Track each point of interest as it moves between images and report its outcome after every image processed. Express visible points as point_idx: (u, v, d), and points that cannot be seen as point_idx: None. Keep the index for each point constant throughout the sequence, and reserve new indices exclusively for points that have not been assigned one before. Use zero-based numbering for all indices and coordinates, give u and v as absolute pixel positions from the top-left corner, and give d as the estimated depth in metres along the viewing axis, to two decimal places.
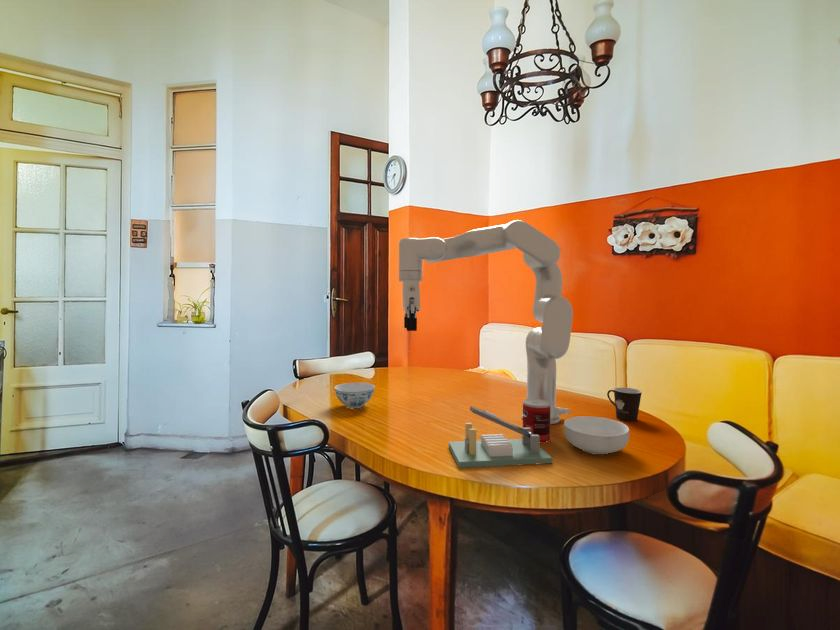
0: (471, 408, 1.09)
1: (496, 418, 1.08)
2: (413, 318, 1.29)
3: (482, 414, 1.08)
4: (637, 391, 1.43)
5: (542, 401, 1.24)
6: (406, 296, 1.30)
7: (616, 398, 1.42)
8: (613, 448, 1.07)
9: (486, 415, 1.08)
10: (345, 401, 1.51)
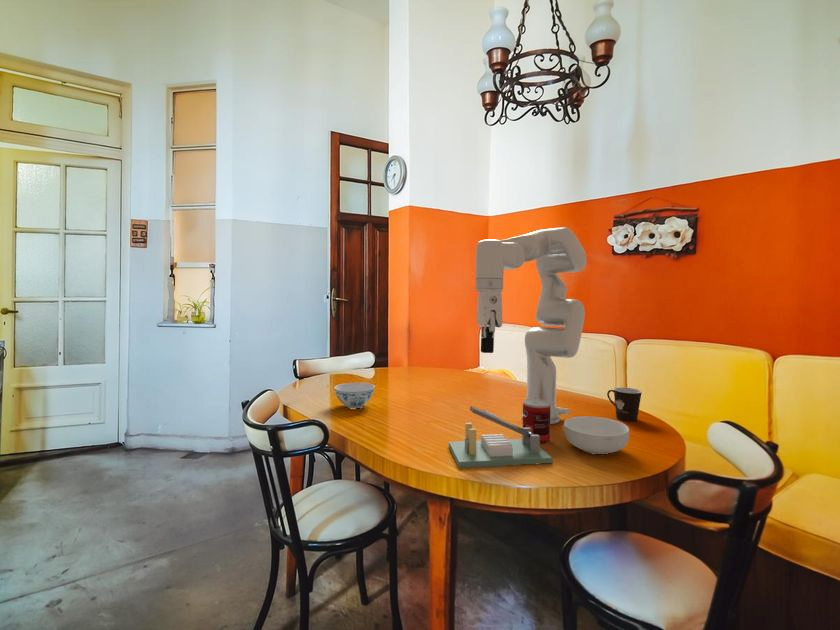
0: (471, 408, 1.09)
1: (496, 418, 1.08)
2: (490, 338, 1.12)
3: (482, 414, 1.08)
4: (637, 391, 1.43)
5: (542, 401, 1.24)
6: (486, 308, 1.09)
7: (616, 398, 1.42)
8: (613, 448, 1.07)
9: (486, 415, 1.08)
10: (345, 401, 1.51)
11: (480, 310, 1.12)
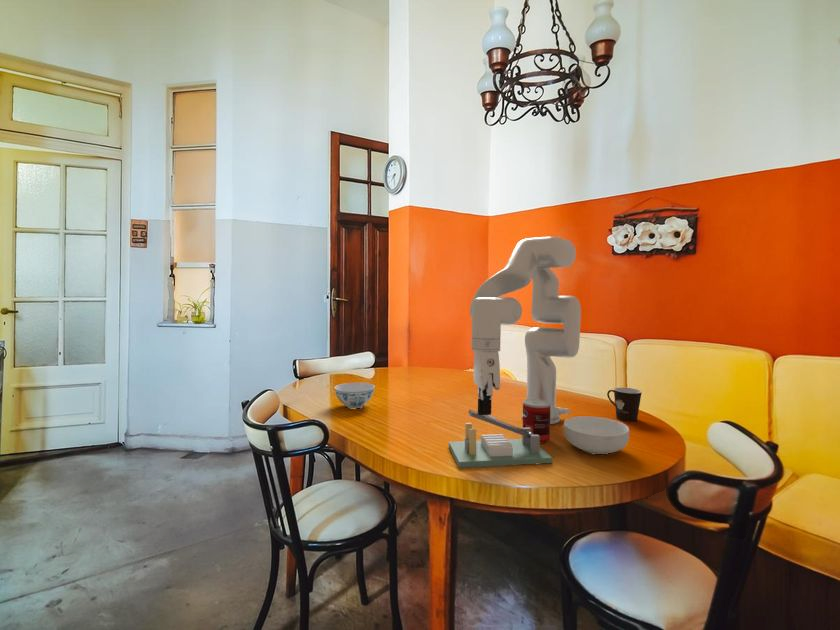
0: (469, 411, 1.09)
1: (495, 420, 1.08)
2: (488, 400, 1.07)
3: (481, 417, 1.08)
4: (637, 391, 1.43)
5: (542, 401, 1.24)
6: (483, 372, 1.04)
7: (616, 398, 1.42)
8: (613, 448, 1.07)
9: (485, 418, 1.08)
10: (345, 401, 1.51)
11: (477, 371, 1.07)
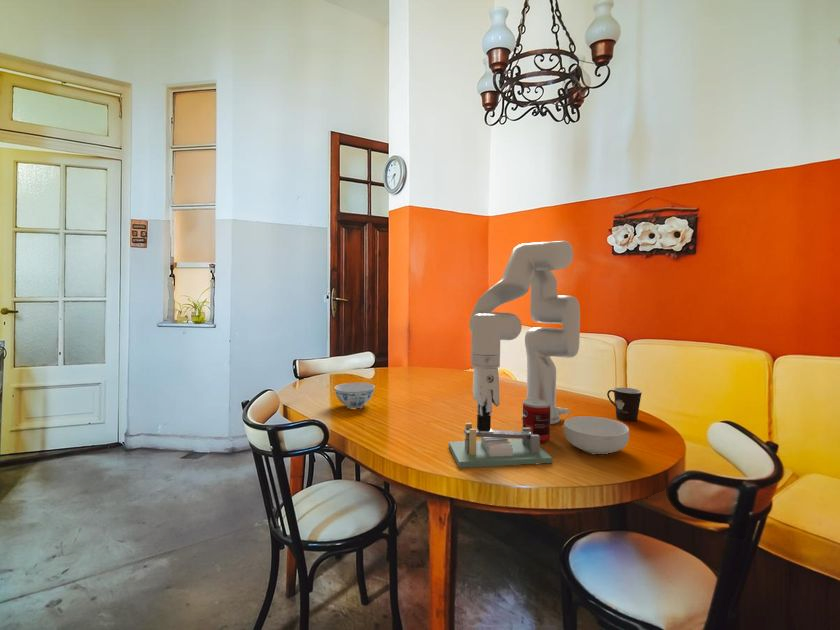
0: (465, 431, 1.09)
1: (491, 433, 1.08)
2: (487, 416, 1.07)
3: (476, 434, 1.08)
4: (637, 391, 1.43)
5: (542, 401, 1.24)
6: (483, 388, 1.04)
7: (616, 398, 1.42)
8: (613, 448, 1.07)
9: (481, 433, 1.08)
10: (345, 401, 1.51)
11: (476, 387, 1.07)
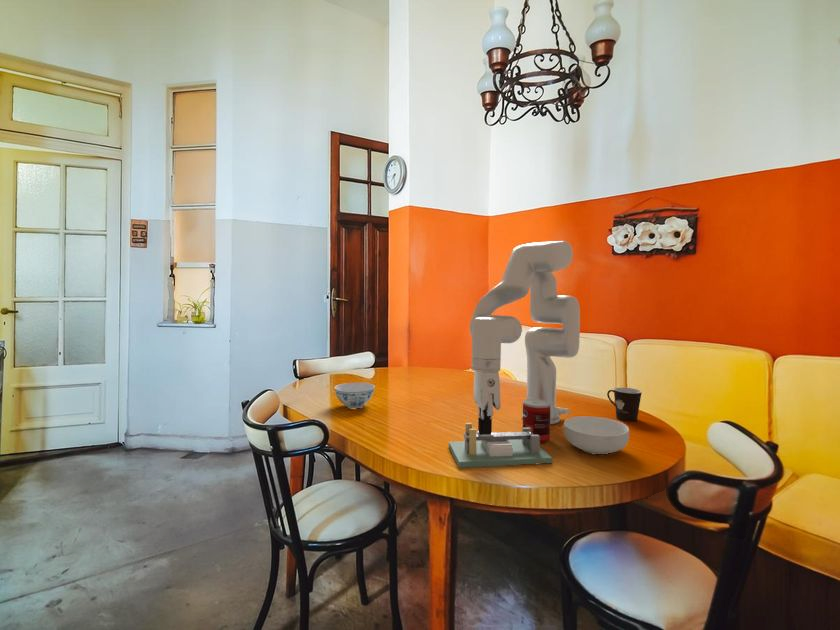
0: (464, 436, 1.09)
1: (491, 435, 1.08)
2: (488, 420, 1.08)
3: (476, 438, 1.08)
4: (637, 391, 1.43)
5: (542, 401, 1.24)
6: (484, 392, 1.04)
7: (616, 398, 1.42)
8: (613, 448, 1.07)
9: (480, 437, 1.08)
10: (345, 401, 1.51)
11: (477, 390, 1.08)
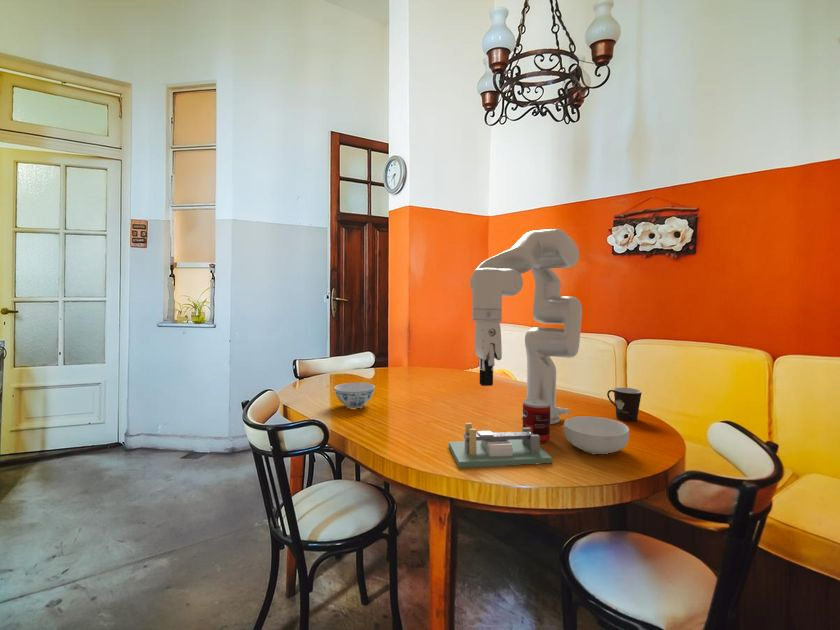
0: (464, 436, 1.09)
1: (491, 435, 1.08)
2: (489, 371, 1.07)
3: (476, 438, 1.08)
4: (637, 391, 1.43)
5: (542, 401, 1.24)
6: (485, 342, 1.04)
7: (616, 398, 1.42)
8: (613, 448, 1.07)
9: (480, 437, 1.08)
10: (345, 401, 1.51)
11: (478, 342, 1.07)
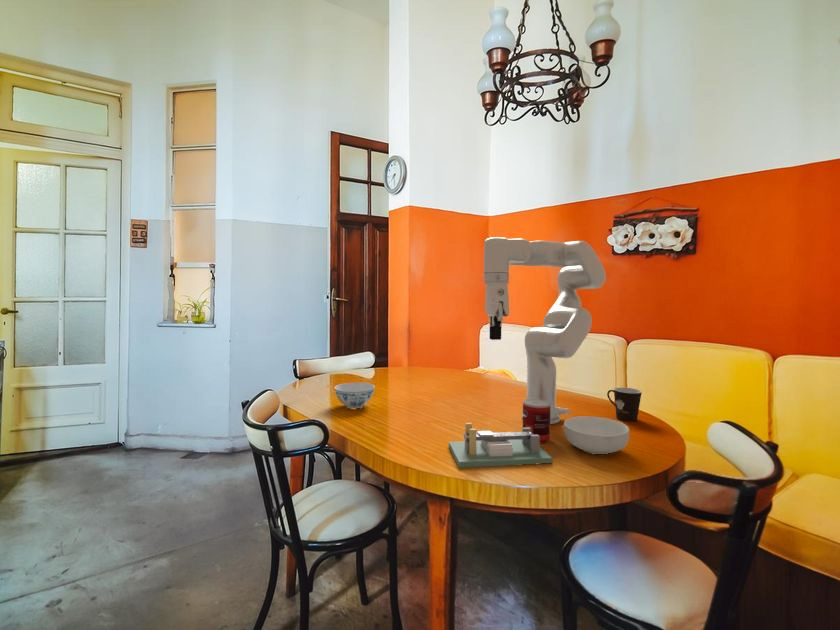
0: (464, 436, 1.09)
1: (491, 435, 1.08)
2: (498, 326, 1.25)
3: (476, 438, 1.08)
4: (637, 391, 1.43)
5: (542, 401, 1.24)
6: (495, 300, 1.21)
7: (616, 398, 1.42)
8: (613, 448, 1.07)
9: (480, 437, 1.08)
10: (345, 401, 1.51)
11: (488, 301, 1.24)
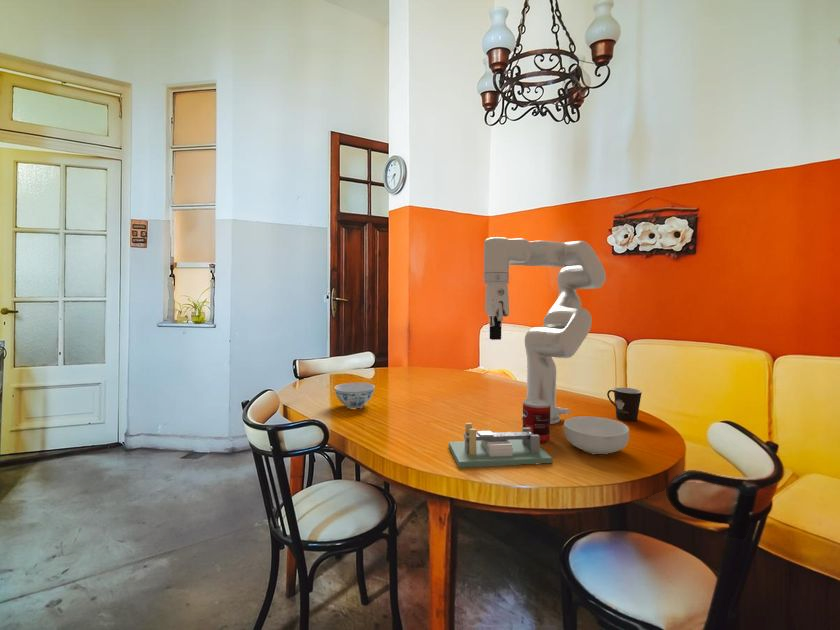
0: (464, 436, 1.09)
1: (491, 435, 1.08)
2: (498, 326, 1.25)
3: (476, 438, 1.08)
4: (637, 391, 1.43)
5: (542, 401, 1.24)
6: (495, 300, 1.21)
7: (616, 398, 1.42)
8: (613, 448, 1.07)
9: (480, 437, 1.08)
10: (345, 401, 1.51)
11: (488, 301, 1.24)
